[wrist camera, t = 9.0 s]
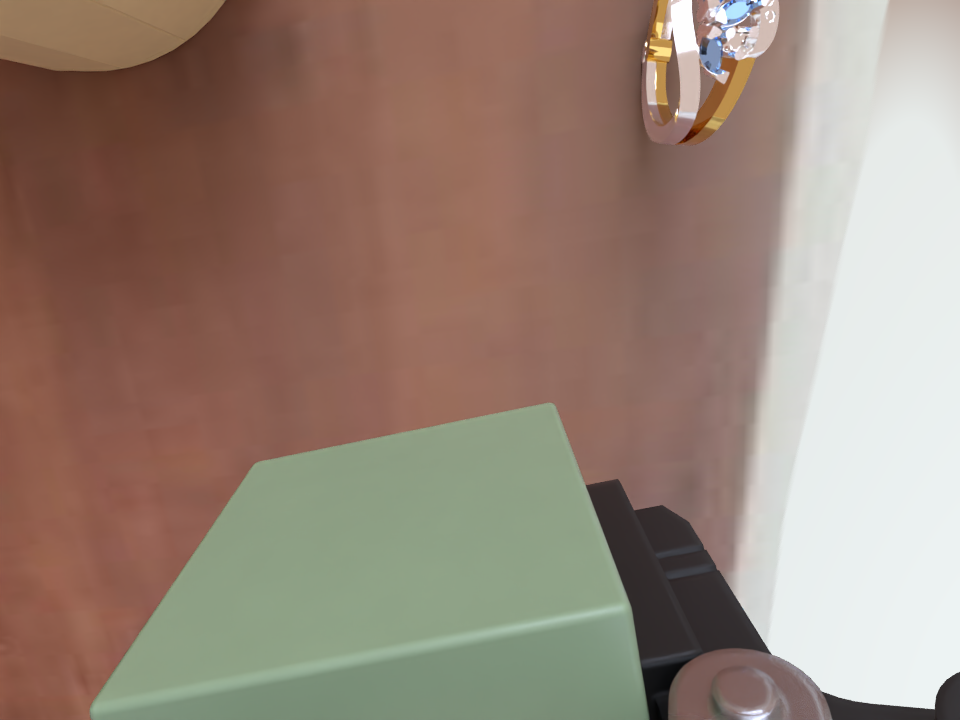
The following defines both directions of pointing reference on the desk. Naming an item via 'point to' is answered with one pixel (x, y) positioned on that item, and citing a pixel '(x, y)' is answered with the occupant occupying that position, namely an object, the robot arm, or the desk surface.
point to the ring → (701, 63)
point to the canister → (97, 31)
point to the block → (397, 590)
